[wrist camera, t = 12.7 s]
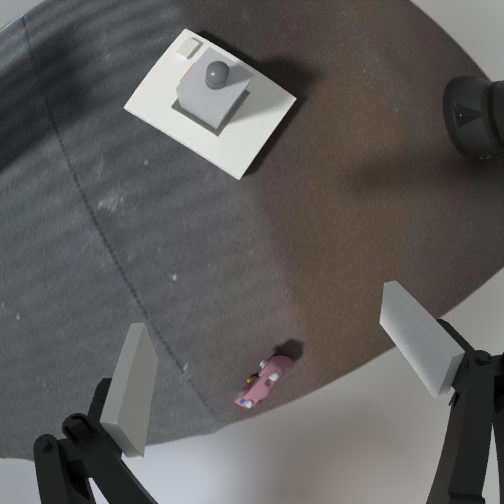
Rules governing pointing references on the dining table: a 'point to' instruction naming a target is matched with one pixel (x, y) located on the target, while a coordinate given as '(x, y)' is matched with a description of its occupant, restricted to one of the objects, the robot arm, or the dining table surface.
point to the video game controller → (263, 381)
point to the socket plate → (197, 132)
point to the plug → (212, 87)
